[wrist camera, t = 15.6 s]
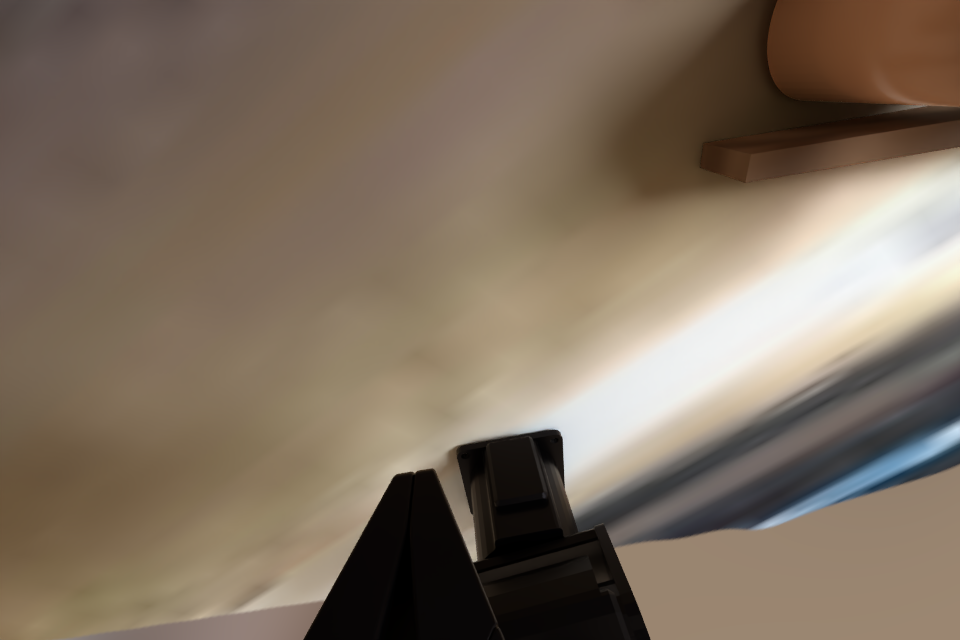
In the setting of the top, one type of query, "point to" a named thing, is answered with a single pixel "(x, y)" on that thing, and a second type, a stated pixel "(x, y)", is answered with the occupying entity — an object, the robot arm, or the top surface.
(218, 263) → the top surface
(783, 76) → the terracotta jar
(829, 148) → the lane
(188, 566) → the top surface
